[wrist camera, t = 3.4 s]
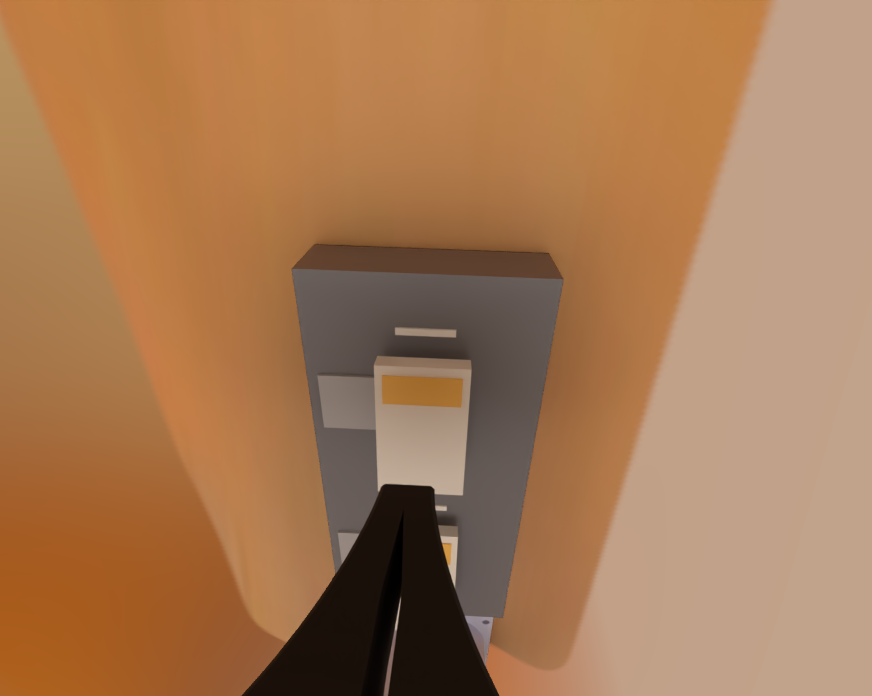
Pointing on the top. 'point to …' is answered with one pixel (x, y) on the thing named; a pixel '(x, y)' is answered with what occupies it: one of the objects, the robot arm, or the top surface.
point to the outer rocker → (422, 421)
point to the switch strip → (442, 339)
